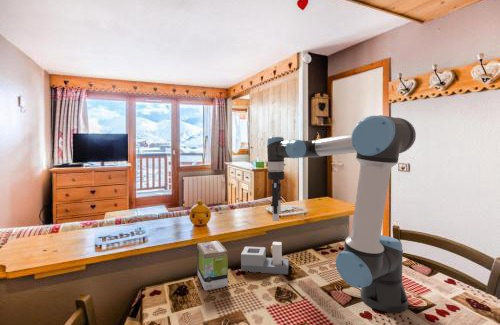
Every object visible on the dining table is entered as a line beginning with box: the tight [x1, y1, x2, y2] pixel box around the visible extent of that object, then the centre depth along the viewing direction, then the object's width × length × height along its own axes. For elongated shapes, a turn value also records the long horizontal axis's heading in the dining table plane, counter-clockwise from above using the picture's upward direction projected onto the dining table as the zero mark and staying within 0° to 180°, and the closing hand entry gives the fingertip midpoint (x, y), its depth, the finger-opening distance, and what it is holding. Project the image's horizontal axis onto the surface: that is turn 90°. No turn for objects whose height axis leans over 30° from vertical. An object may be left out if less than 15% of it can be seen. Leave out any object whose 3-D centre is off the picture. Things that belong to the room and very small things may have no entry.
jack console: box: [240, 246, 290, 275], centre depth 124 cm, size 10×21×8 cm, turn 80°
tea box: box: [196, 240, 229, 291], centre depth 112 cm, size 15×10×15 cm, turn 22°
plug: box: [270, 241, 283, 265], centre depth 123 cm, size 4×5×12 cm
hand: (276, 217), depth 122 cm, fingers open, 13 cm apart
